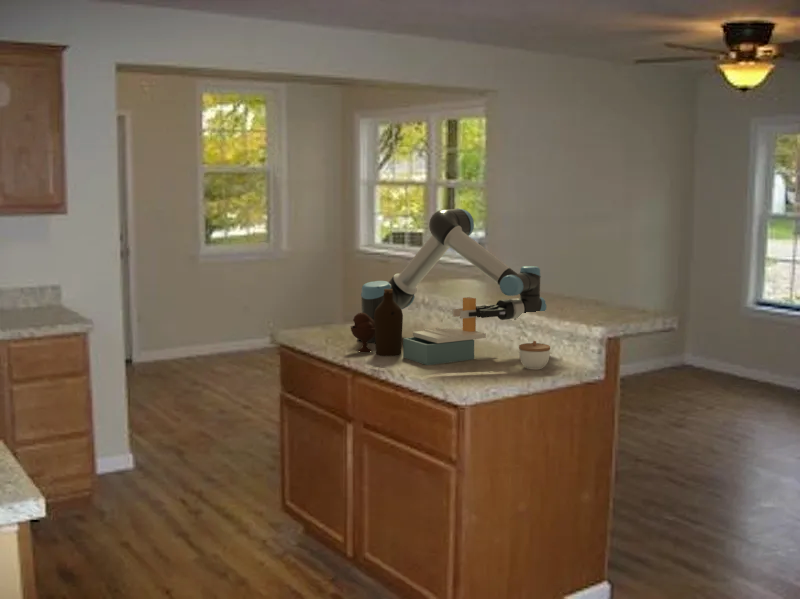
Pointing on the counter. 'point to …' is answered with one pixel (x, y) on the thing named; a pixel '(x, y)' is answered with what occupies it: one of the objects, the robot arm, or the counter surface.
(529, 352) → the lidded jar
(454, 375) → the counter surface
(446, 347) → the tub
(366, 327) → the ice cream bowl
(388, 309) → the olive oil
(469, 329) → the lid
